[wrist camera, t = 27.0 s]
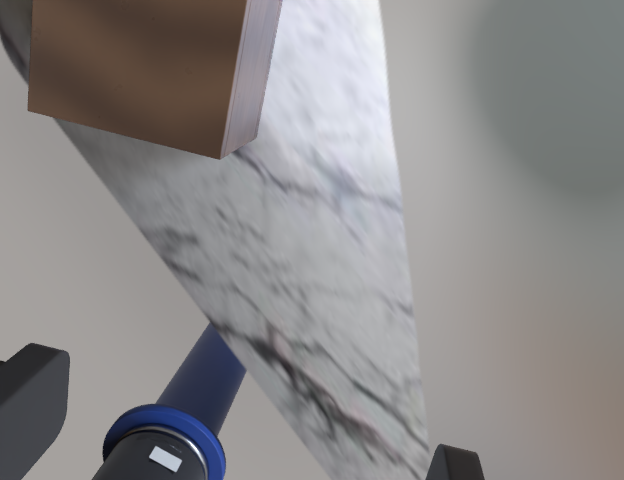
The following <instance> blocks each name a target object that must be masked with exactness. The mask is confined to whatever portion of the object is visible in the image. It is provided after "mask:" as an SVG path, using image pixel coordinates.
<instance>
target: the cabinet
mask: <svg viewBox="0 0 624 480" xmlns="http://www.w3.org/2000/svg"><path fill="white" fill-rule="evenodd" d="M281 6H282V0H33V3H32V25H31V47H30V69H29V91H28V111H31V112H34V113H38V114H42V115H46V116H50V117H54V118H58V119H62V120H66V121H70V122H74V123H77V124H81V125H85V126H89V127H93V128H97V129H101V130H105V131H109V132H113V133H117V134H121V135H125V136H129V137H132V138H136V139H140V140H144V141H148V142H152V143H156V144H160V145H164V146H168V147H172V148H176V149H180V150H183V151H187V152H191V153H195V154H199V155H203V156H207V157H211V158H215V159H219V160H220V159H222V158H223V157H225V156H227V155H228V154H230V153H232V152H233V151H235V150H237V149H238V148H240V147H242V146H243V145H245V144H247V143H248V142H250V141H252V140H254V139H256V137H257V131H258V126H259V121H260V116H261V110H262V105H263V100H264V95H265V89H266V84H267V79H268V74H269V68H270V63H271V58H272V53H273V48H274V42H275V37H276V32H277V27H278V21H279V16H280V11H281Z"/></svg>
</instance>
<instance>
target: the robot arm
mask: <svg viewBox="0 0 624 480" xmlns="http://www.w3.org/2000/svg"><path fill="white" fill-rule="evenodd" d="M69 367H70V357H69V354H68V352H66V351H64V350H59V349H55V348H51V347H47V346H42V345H39V344H35V343H30V344H28V345H26V346H25V347H24V348H23V349H21V350H20V351H19V352H17V353H16V354H15V355H14V356H13V357H11V358H10V359H9V360H7V361H6V362H4V361H0V480H21V479H22V478H23V477H24V476H25V475H26V473H27V472H28V471H29V470H30V469H31V467H32V466H33V465H34V464H35V463H36V462H37V461H38V459H39V458H40V457H41V456H42V455H43V454H44V452H45V451H46V450H47V449H48V448H49V447H50V445H51V444H52V443H53V442H54V440H55V439H56V438H57V436H58V434H59V433H60V430H61V428H62V426H63V424H64V420H65V417H66V412H67V399H68V382H69ZM92 480H209V464H208V460H207V457H206V455H205V453H204V451H203V450H202V448H201V447H200V446H199V445H198V443H197V442H196V441H195V440H194V439H193V438H191V437H190V436H189V435H188V434H186V433H185V432H183V431H181V430H179V429H177V428H175V427H172V426H169V425H165V424H160V423H146V424H140V425H137V426H135V427H132V428H130V429H129V430H127V431H126V432H125V433H124V434H123V435H122V436H121V437H120V439H119V440H118V441H117V443H116V444H115V446H114V448H113V450H112V452H111V453H110V455H109V456H108V458H107V459H106V460H105V462H104V463H103V465H102V466H101V467H100V469H99V470H98V472H97V473H96V474H95V476H94V477H93V479H92ZM426 480H485V479H484V476H483V472H482V468H481V464H480V460H479V457H478V455H477V453H476V452H472V451H468V450H464V449H460V448H455V447H451V446H447V445H443V444H440V445H438V447H437V449H436V451H435V453H434V456H433V459H432V462H431V465H430V468H429V471H428V474H427V477H426Z"/></svg>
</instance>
